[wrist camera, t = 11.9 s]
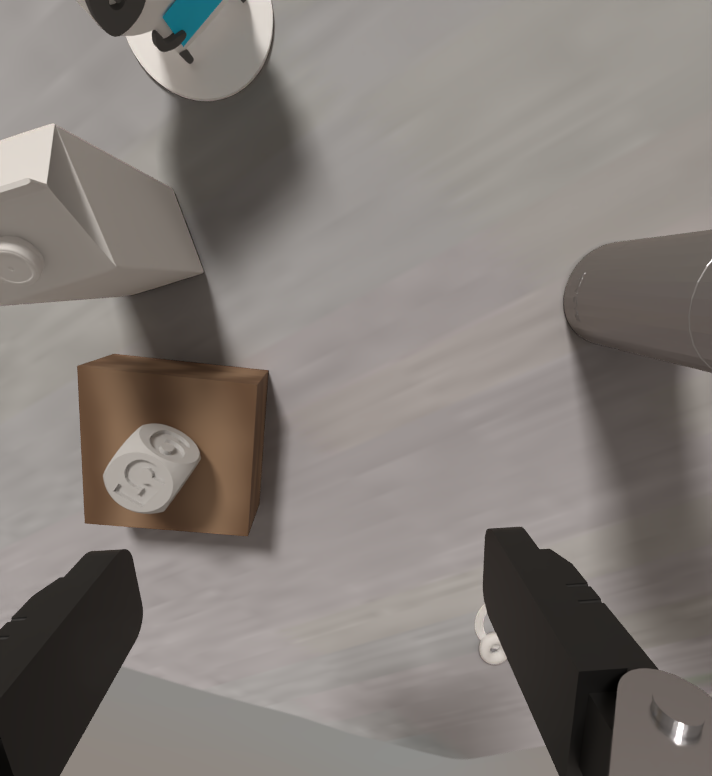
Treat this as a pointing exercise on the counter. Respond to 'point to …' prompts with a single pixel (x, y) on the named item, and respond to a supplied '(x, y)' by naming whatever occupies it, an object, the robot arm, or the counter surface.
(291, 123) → the counter surface
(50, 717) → the robot arm
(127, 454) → the die
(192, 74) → the white device on stand
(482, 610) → the teacup and saucer
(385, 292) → the counter surface
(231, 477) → the walnut block
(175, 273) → the milk carton
